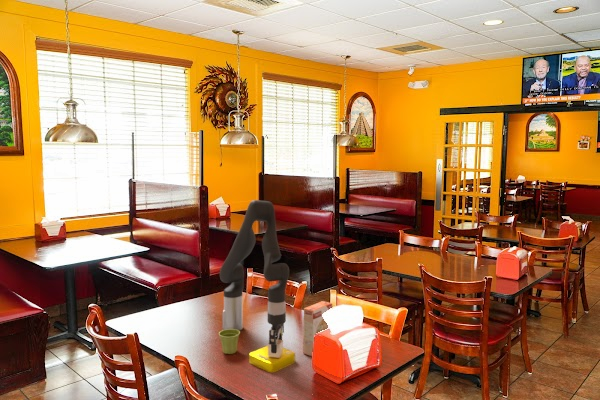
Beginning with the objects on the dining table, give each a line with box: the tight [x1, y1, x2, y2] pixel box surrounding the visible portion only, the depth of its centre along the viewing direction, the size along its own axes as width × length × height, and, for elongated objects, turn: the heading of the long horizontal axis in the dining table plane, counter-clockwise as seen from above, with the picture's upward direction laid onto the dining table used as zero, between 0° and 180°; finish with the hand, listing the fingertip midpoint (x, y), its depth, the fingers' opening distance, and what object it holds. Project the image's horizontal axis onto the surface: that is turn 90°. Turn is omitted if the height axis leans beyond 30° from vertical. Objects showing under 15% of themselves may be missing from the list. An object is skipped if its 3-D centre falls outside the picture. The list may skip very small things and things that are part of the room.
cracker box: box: [302, 300, 333, 357], centre depth 216 cm, size 14×6×21 cm, turn 140°
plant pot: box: [218, 329, 241, 355], centre depth 216 cm, size 9×9×9 cm
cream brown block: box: [267, 339, 284, 358], centre depth 203 cm, size 5×5×6 cm
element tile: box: [248, 345, 296, 373], centre depth 206 cm, size 15×15×5 cm
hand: (276, 348), depth 203 cm, fingers open, 8 cm apart
